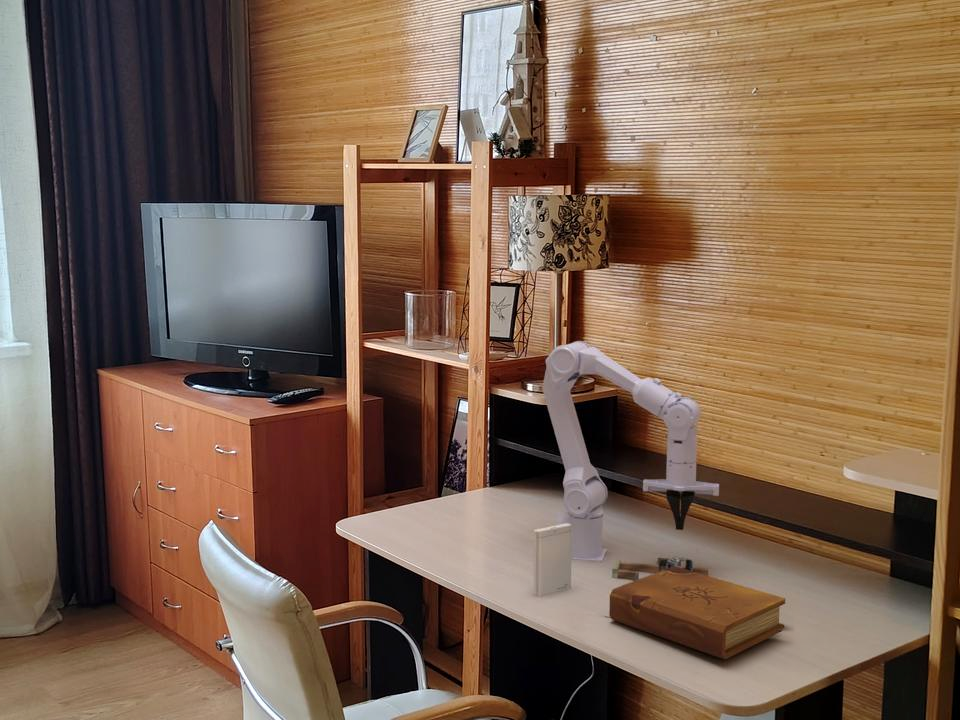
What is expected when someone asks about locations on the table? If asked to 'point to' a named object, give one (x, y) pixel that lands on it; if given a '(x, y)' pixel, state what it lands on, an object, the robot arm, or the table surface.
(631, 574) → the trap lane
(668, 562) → the wristwatch
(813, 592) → the table surface
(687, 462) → the robot arm
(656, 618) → the diary
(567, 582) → the hard drive
